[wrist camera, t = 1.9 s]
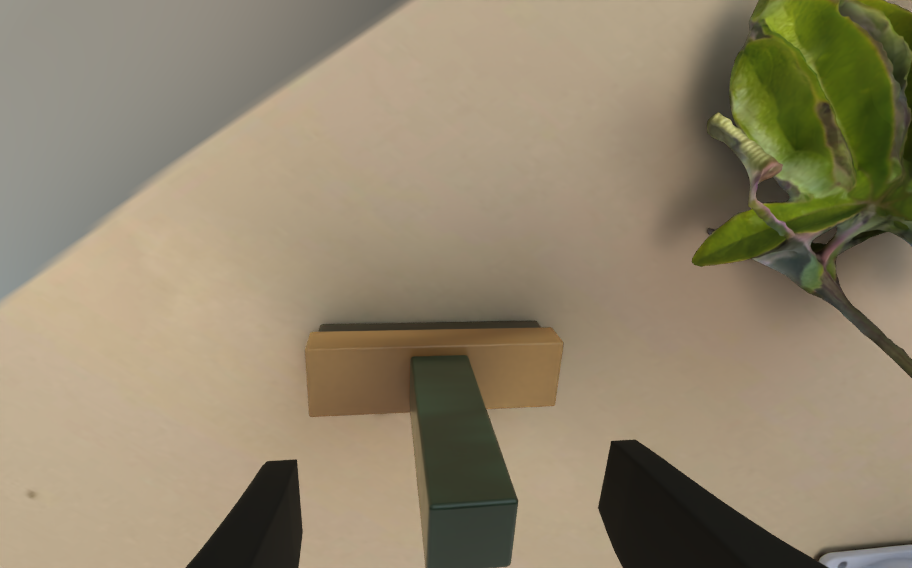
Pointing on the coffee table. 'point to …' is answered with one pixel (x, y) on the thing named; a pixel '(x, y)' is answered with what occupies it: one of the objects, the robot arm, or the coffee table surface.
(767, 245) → the passion flower
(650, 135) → the coffee table surface
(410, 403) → the brush
